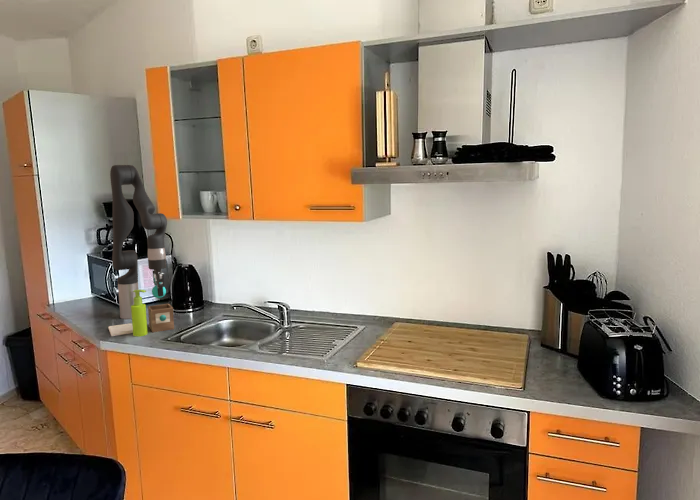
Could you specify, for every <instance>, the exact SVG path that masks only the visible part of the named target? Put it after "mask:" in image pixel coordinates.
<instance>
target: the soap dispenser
mask: <svg viewBox="0 0 700 500" xmlns="http://www.w3.org/2000/svg"><path fill="white" fill-rule="evenodd" d="M133 292H135V295H136V297H134V305H132V306H131V313H132V318H131V323H132V326H133V333H132V336H133V337H143V336H147V335H148V318H147V308H146V307H147V306H146V304H145V303H143V297H142V296H141V295H140V293H144V294H145V293H146V292H147V290H145V289H139V290H134V291H133Z"/></svg>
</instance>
